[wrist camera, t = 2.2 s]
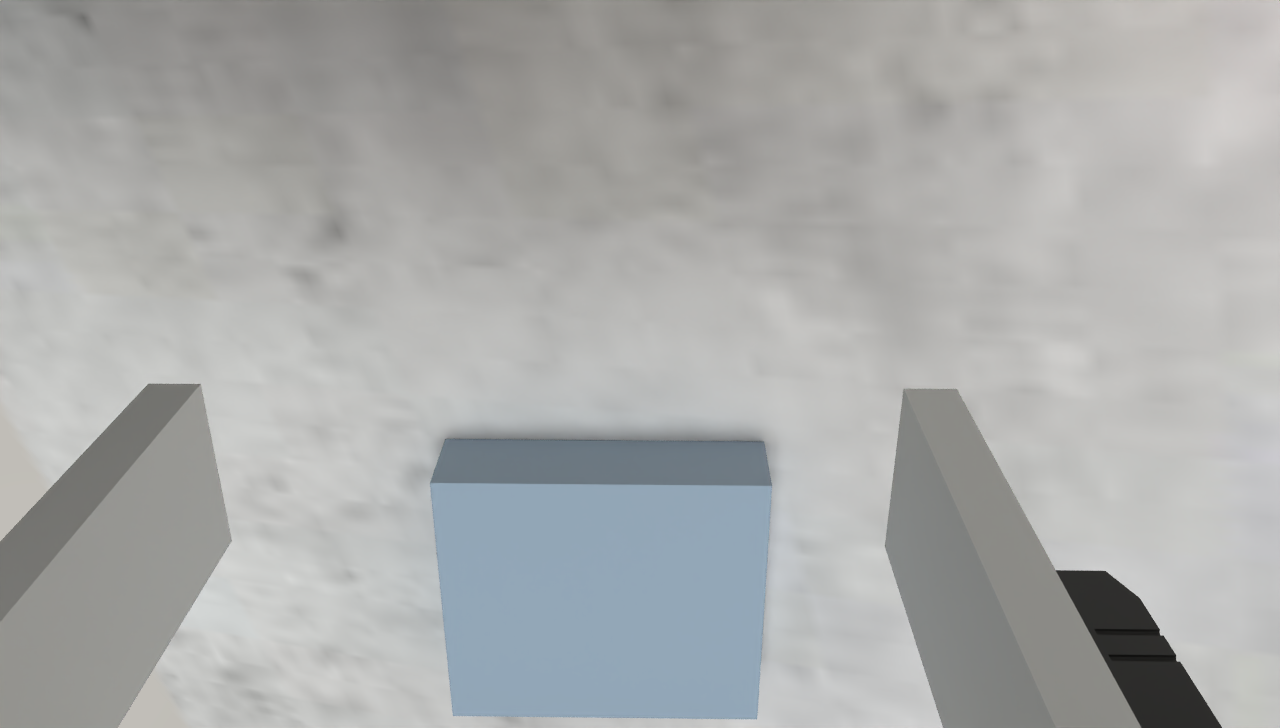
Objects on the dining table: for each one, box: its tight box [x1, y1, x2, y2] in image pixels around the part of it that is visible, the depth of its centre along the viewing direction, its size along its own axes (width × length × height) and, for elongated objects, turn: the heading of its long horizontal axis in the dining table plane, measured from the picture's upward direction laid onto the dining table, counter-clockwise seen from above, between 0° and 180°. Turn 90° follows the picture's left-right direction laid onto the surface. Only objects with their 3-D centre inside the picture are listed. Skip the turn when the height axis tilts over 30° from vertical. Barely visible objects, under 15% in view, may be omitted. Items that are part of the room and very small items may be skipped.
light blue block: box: [430, 439, 772, 719], centre depth 35 cm, size 10×9×3 cm
